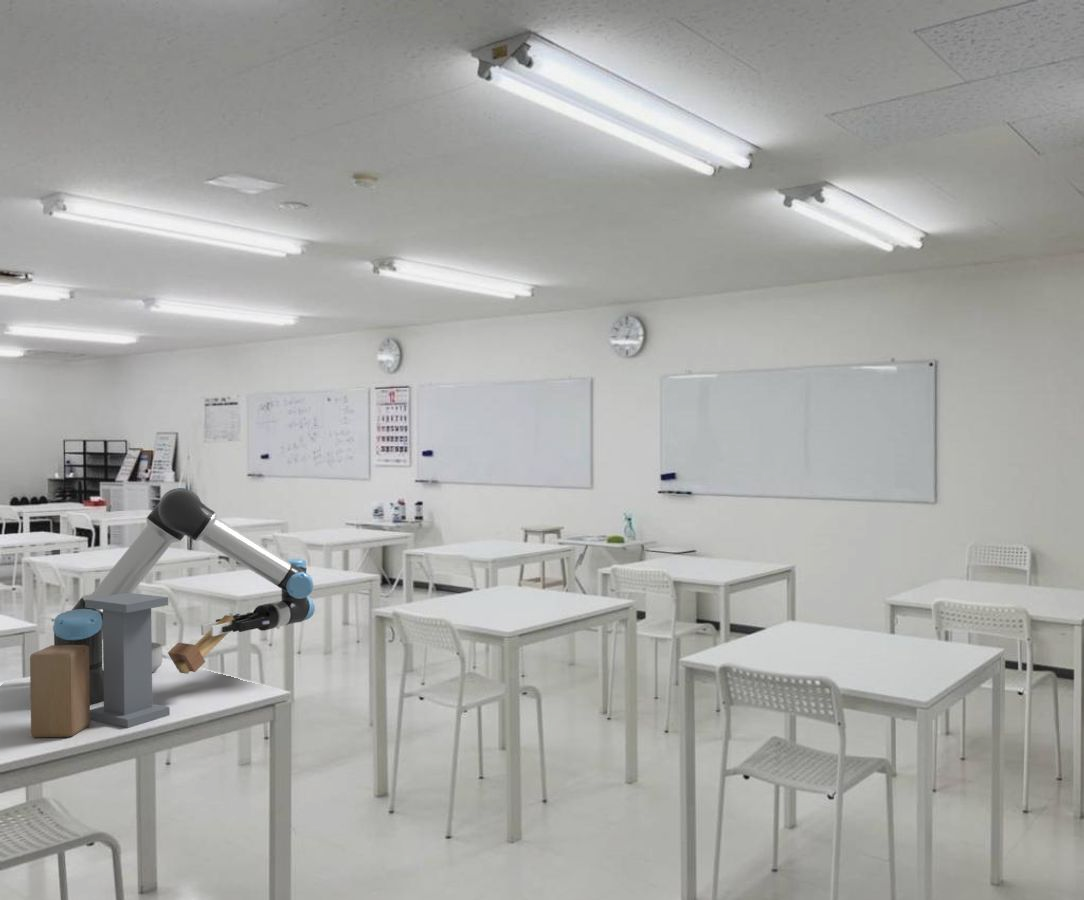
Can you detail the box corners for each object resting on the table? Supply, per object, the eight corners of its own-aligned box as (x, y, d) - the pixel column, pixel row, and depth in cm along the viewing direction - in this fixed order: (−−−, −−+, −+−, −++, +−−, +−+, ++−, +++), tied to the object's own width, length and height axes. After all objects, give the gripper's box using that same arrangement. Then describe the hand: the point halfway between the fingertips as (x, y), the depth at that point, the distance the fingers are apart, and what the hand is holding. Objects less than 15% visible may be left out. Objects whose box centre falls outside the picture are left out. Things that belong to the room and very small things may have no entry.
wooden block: (91, 725, 226) (90, 643, 226) (72, 738, 216) (71, 653, 216) (50, 725, 226) (49, 644, 226) (29, 739, 216) (28, 653, 216)
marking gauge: (175, 671, 249) (164, 655, 246) (224, 622, 264) (215, 606, 261) (192, 674, 246) (182, 657, 243) (241, 624, 260) (232, 608, 258)
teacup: (170, 670, 280) (170, 644, 280) (138, 678, 271) (137, 651, 271) (142, 665, 288) (141, 639, 288) (110, 672, 279) (109, 646, 279)
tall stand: (86, 718, 232) (85, 599, 231) (128, 706, 242) (127, 592, 242) (127, 727, 224) (126, 604, 224) (169, 714, 234) (168, 597, 234)
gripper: (290, 630, 271) (227, 647, 250) (251, 626, 279) (187, 641, 258) (290, 605, 271) (227, 619, 250) (251, 601, 279) (186, 614, 258)
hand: (207, 630), depth 254 cm, fingers closed on marking gauge, 3 cm apart
